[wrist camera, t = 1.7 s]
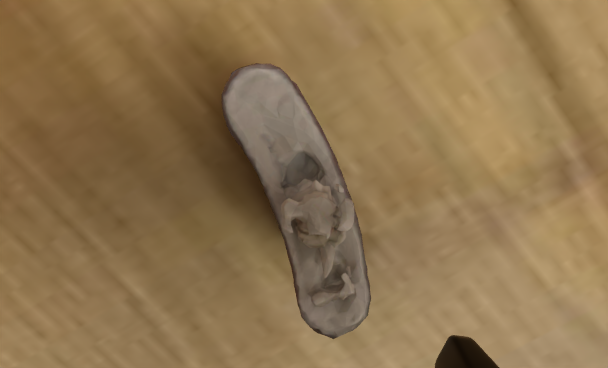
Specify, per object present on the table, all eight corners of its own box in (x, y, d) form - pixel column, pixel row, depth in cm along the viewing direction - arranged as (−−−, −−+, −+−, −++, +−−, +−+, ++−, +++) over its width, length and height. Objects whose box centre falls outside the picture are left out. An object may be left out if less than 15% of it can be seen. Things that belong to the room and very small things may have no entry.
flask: (225, 86, 22) (200, 74, 12) (284, 64, 22) (312, 33, 12) (293, 261, 24) (325, 388, 14) (347, 240, 24) (420, 350, 14)
